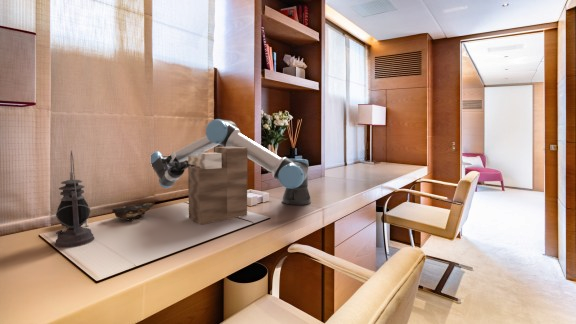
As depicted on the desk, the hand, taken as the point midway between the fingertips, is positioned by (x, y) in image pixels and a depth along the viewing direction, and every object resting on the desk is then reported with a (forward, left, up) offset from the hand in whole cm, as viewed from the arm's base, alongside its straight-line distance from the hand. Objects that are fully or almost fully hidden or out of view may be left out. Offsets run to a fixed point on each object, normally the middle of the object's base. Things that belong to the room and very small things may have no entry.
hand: (189, 153), depth 136 cm
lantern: (+38, +29, -27) cm, 55 cm away
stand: (-11, +14, -27) cm, 32 cm away
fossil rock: (+23, +6, -27) cm, 36 cm away
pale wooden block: (-4, +11, -5) cm, 13 cm away
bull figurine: (+41, +11, -27) cm, 50 cm away
